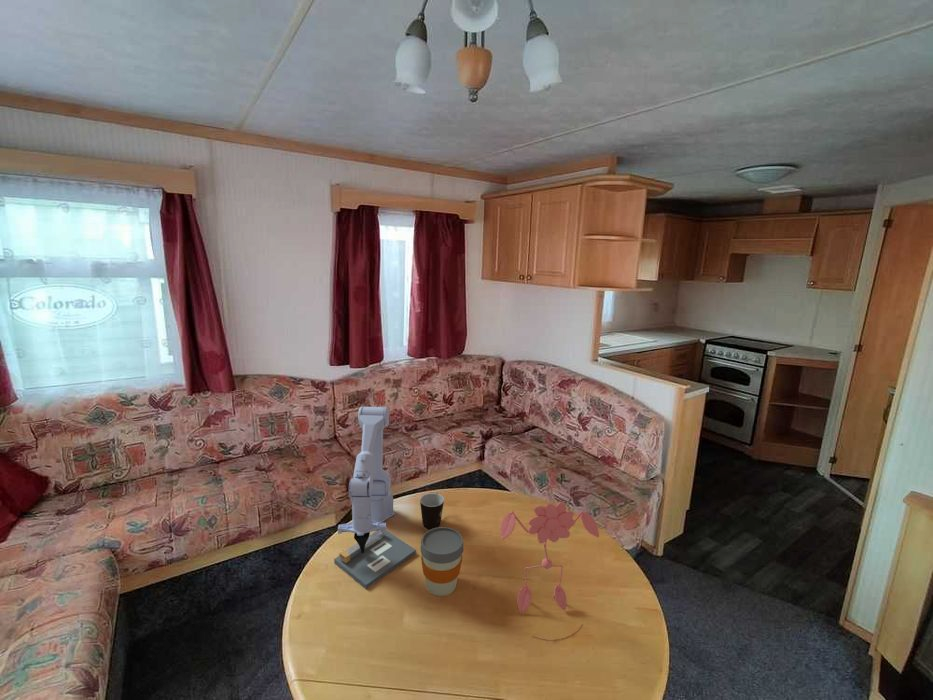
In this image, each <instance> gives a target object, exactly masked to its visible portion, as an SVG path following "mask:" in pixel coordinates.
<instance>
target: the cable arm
mask: <svg viewBox="0 0 933 700" xmlns="http://www.w3.org/2000/svg"><path fill="white" fill-rule="evenodd" d="M381 538H383V534H382V533H381V532H380V531H373V533H371V534H370V535H369V538H368V540H367V542H366V544H365V549H366V548H367V547H369V546H370V545H372V544H373V543H375V542H377V541H378V540H380V539H381ZM360 552H361V549H360V546H359V544H358V543H355V544H354V545H352V546H350V547H349V548H347V549H346V550H341V551H340V552H338V556H339V558H340V559H341V560H342V561H344V562H345V563H347V562H348V561H350V558H352V557H353V556H355V555H356V554H358V553H360Z"/></svg>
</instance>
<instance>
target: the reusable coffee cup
mask: <svg viewBox="0 0 933 700" xmlns="http://www.w3.org/2000/svg"><path fill="white" fill-rule="evenodd" d="M464 549H465V547H464V539H463V536H462V534H461V533H460V532H459V531H458V530H456V529H454V528H452V527H449V526H447V527H446V526H440V527H437V528H433V529H431V530H427V531H426V532H425V533H424V534H423V535H422V538H421V542H420V554H421V556H420V559H421V566H422V574H423V576H424V579H425V586H426V589H427V591H428V592H429V593H431V594H432V595H434V596H440V597H444V596H448V595H450V594H452V593H453V592H454V591H455V590H456V588H457V582H458V577H459V575H460V573H461V567H462V562H463V553H464Z"/></svg>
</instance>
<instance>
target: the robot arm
mask: <svg viewBox="0 0 933 700" xmlns="http://www.w3.org/2000/svg"><path fill="white" fill-rule="evenodd" d="M357 422H358V424H359V427H360V429H361V430H362V433H361V435H362V437H361V447H360V448H361V449H360V452H359V453H358V454H357V455H356V458H355V464H354V471H353V476H352V477H351V478H350V480H349V483H348V495H349V498H350V499H349V500H350V503H351V515H352V516H351V517H352V521H351V522H347V523H342V524H338V526H337V534H338V535H341V534H342V533H353V535H354V536H353V538H354V540H355V542H357V543H358V544H359V546H360V549H361V553H364V550H365V544H366V542H367V540H368V538H369V536H370V535H371V534H370V533H371V532H376V531H379V532H380V531H382V532H386V530H387V522H384V521H386V520H388V519H390V518H391V517H393V516H395V514H396V513H395V512H394V496H393V494H392V491H391V487H392V481H391V475H390V474H391V473H389V472H388V471H386V470H385V469H383V468H384V467H383V465H384V463H383V457H384V456H383V454H384V451H383V449H384V447H383V446H384V443H383V441H384V439H383V438H384V429H385V428H387V427H389V425H390V409H389V408H388V407H387V406H360V407H359V409H358V412H357ZM357 543H356V544H357Z"/></svg>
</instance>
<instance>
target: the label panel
mask: <svg viewBox="0 0 933 700" xmlns="http://www.w3.org/2000/svg"><path fill="white" fill-rule="evenodd" d="M379 532H381V533H382V534H383V538H381V539H380V540H378V541H377V542H375V543H373V544H372V545H370V546H369V547H367V548H366V549H365V550H364V553H361V552H360V553H358V554H356V555H355V556H353V557H352V558H350V561H348V562H347V563H345V562H344V561H342V560H341V559H340V558H339V555H338V556H337V557H335V558H333V561H334V565H336V566H337V567H338V568H340V569H341V570H342V571H343V572H344V573H346V574H347V575H348V576H349V577H350V578H351V579H353V580H354V581H355V582H356V583H357V584H359V585H360V586H361V587H362V588H364V589H365V590H367V589H368V588H370V587H371V586H373V585H375V584H376V583H377V582H379V581H380V580H381V579H383V578H384V577H385V576H387V575H388V574H389V573H391V572H392V571H394V570H396V569H397V568H398V567H400V566H401V565H403V564H404V563H405V562H406V561H408V560H409V559H411V558H412V557H413V556H415V555H417V549H415V548H414V547H413V546H411V545H410V544H408V543H406V542H405V541H404V540H402V539H400V538H399V537H397V536H396V535H395V534H393V533H391V532H389V531H388V530H387V529H386V532H382V531H379Z"/></svg>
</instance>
